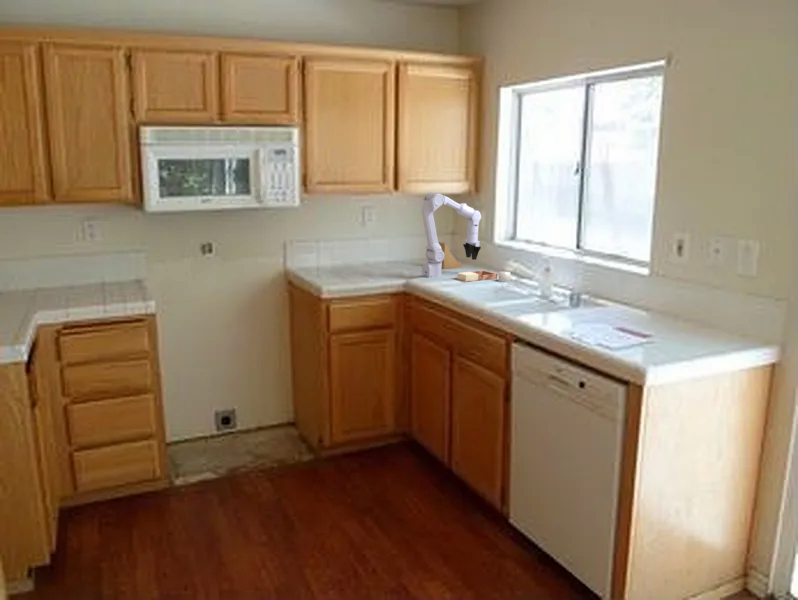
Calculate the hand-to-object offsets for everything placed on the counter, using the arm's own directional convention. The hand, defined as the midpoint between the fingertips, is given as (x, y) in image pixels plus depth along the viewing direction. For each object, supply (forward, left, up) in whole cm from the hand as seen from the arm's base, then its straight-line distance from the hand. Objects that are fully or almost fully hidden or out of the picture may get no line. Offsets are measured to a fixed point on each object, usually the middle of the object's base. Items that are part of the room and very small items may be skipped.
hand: (471, 258), depth 359 cm
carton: (-12, -12, -8) cm, 18 cm away
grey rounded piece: (+2, -24, -10) cm, 26 cm away
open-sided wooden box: (-8, -12, -10) cm, 17 cm away
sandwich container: (+9, +29, -10) cm, 32 cm away
